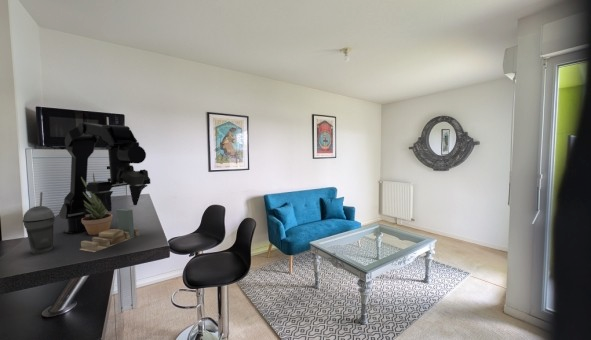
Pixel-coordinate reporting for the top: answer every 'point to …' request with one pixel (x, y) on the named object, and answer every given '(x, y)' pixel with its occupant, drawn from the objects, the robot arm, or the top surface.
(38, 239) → the beverage cup
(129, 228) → the teal rectangular block
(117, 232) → the pine offcut
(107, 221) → the potted plant
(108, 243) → the birch rack
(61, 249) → the top surface
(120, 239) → the walnut offcut
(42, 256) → the top surface
